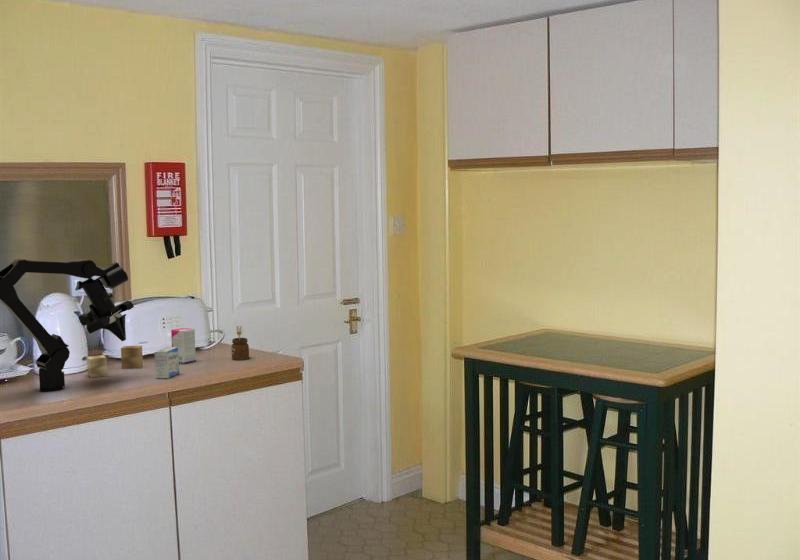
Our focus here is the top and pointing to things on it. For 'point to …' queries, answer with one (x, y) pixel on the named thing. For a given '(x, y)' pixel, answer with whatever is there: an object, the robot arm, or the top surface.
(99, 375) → the beech block
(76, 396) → the top surface
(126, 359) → the oak block
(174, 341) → the supplement box
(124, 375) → the top surface
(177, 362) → the medicine box
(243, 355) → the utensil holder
